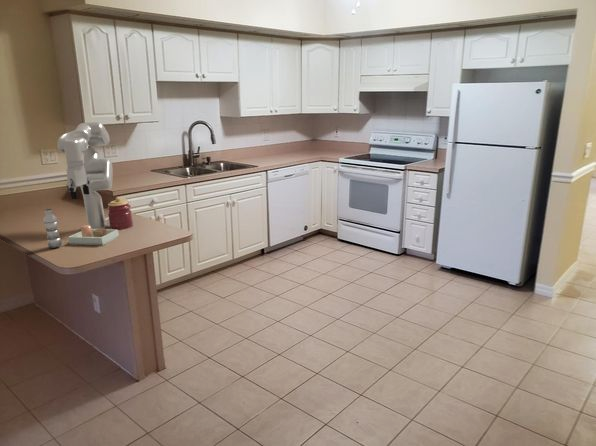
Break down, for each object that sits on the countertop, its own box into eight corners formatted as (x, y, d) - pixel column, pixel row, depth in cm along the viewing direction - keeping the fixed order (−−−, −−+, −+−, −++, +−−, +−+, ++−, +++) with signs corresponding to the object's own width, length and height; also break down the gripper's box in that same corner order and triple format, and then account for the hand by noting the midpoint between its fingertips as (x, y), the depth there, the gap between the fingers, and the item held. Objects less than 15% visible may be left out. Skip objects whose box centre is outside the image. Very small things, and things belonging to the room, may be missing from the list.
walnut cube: (99, 237, 249) (98, 228, 248) (108, 237, 248) (106, 228, 247) (94, 240, 244) (92, 231, 243) (102, 240, 243) (101, 231, 242)
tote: (87, 235, 256) (85, 228, 255) (118, 236, 252) (117, 229, 251) (69, 244, 242) (68, 237, 241) (102, 245, 238) (101, 237, 237)
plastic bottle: (64, 244, 242) (57, 207, 236) (58, 249, 235) (51, 211, 230) (52, 245, 241) (45, 208, 236) (45, 249, 235) (38, 211, 229)
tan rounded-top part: (86, 237, 251) (84, 224, 249) (94, 237, 250) (92, 225, 248) (80, 240, 246) (78, 227, 244) (88, 240, 245) (86, 227, 243)
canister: (125, 230, 264) (121, 200, 259) (105, 229, 267) (100, 199, 262) (137, 223, 277) (133, 195, 272) (118, 223, 279) (113, 194, 274)
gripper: (79, 161, 246) (84, 192, 251) (57, 167, 230) (63, 200, 235) (91, 161, 244) (97, 192, 249) (70, 167, 228) (76, 200, 233)
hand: (80, 196), depth 242 cm, fingers open, 9 cm apart
